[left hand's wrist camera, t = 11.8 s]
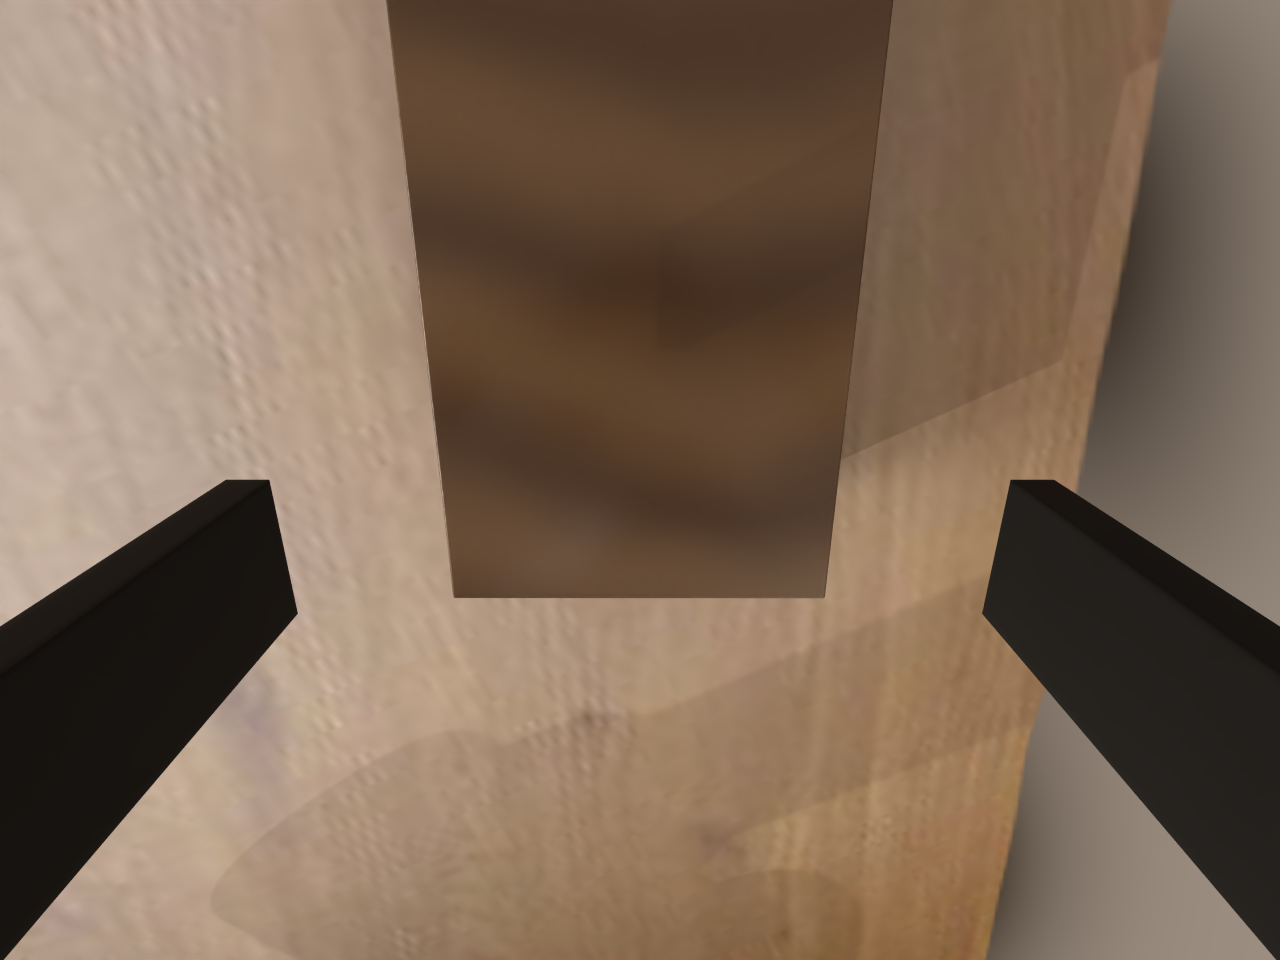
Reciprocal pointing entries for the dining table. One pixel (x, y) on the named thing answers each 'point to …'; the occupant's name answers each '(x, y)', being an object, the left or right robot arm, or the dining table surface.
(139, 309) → the dining table surface
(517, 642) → the dining table surface
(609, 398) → the cabinet
